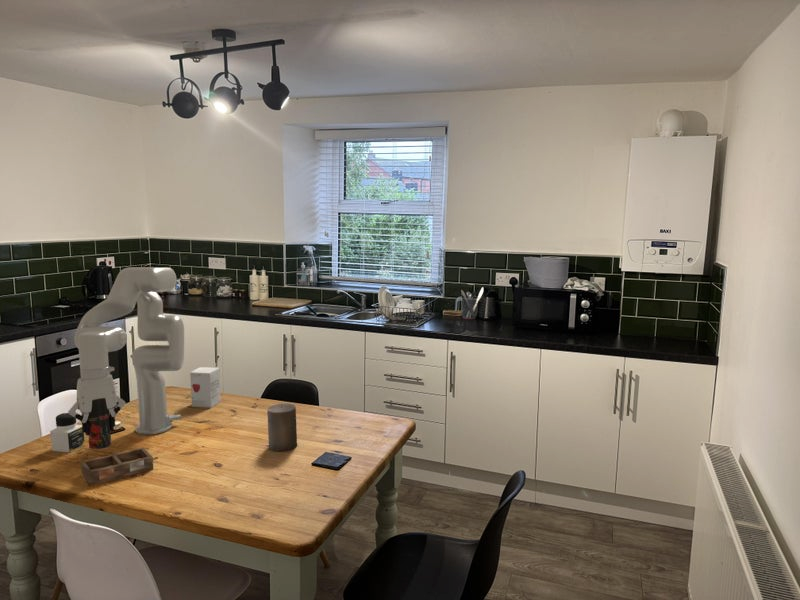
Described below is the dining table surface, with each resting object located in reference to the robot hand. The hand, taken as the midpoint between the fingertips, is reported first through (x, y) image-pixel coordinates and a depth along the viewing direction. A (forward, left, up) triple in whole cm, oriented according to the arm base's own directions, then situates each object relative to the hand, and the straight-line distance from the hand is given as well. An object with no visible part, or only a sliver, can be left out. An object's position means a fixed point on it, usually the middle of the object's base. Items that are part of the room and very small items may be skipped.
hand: (99, 431), depth 173 cm
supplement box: (-50, -47, -14) cm, 70 cm away
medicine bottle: (+4, -31, -14) cm, 34 cm away
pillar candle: (-53, +14, -14) cm, 57 cm away
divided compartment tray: (-4, 0, -14) cm, 15 cm away
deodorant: (0, 0, -5) cm, 5 cm away
